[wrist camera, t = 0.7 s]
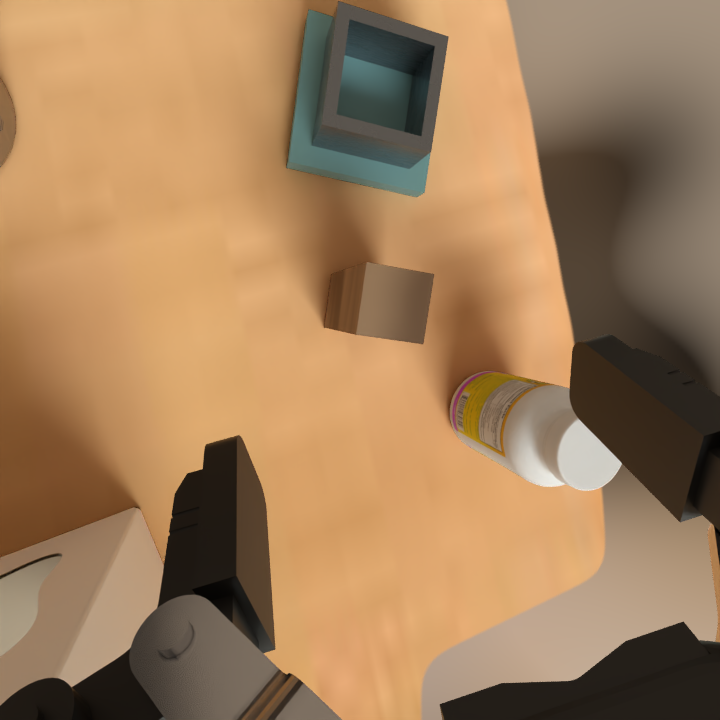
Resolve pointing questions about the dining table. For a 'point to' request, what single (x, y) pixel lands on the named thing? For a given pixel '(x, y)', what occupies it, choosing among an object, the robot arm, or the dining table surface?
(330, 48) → the square socket frame
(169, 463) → the dining table surface
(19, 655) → the gable box
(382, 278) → the rail post
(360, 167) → the plate
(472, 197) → the dining table surface
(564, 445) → the supplement bottle
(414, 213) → the dining table surface
